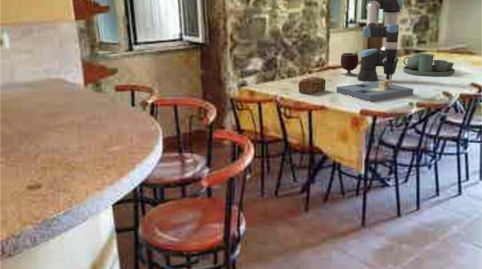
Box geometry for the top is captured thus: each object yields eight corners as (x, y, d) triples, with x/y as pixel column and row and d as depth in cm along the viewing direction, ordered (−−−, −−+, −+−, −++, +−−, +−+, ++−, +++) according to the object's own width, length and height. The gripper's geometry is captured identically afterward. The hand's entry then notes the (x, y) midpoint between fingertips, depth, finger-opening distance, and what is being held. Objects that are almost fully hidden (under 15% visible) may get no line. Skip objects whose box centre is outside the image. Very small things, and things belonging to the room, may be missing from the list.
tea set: (462, 76, 376) (465, 55, 371) (412, 77, 376) (414, 56, 371) (442, 68, 414) (444, 49, 409) (396, 69, 414) (397, 50, 409)
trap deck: (378, 86, 342) (378, 81, 340) (412, 94, 315) (413, 88, 313) (336, 92, 324) (336, 86, 323) (369, 101, 298) (369, 95, 296)
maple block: (384, 87, 320) (384, 79, 318) (389, 88, 315) (390, 81, 314) (378, 88, 317) (379, 80, 316) (384, 89, 313) (384, 81, 312)
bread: (310, 94, 320) (310, 80, 317) (297, 92, 327) (297, 78, 324) (326, 90, 333) (326, 76, 330) (313, 88, 340) (314, 74, 337)
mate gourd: (336, 75, 389) (337, 50, 384) (347, 73, 397) (349, 48, 392) (351, 77, 378) (352, 52, 372) (362, 75, 386) (364, 50, 380)
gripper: (394, 47, 316) (391, 82, 323) (379, 48, 310) (377, 84, 317) (402, 48, 310) (399, 84, 316) (388, 49, 304) (385, 86, 311)
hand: (388, 84), depth 317 cm, fingers closed
